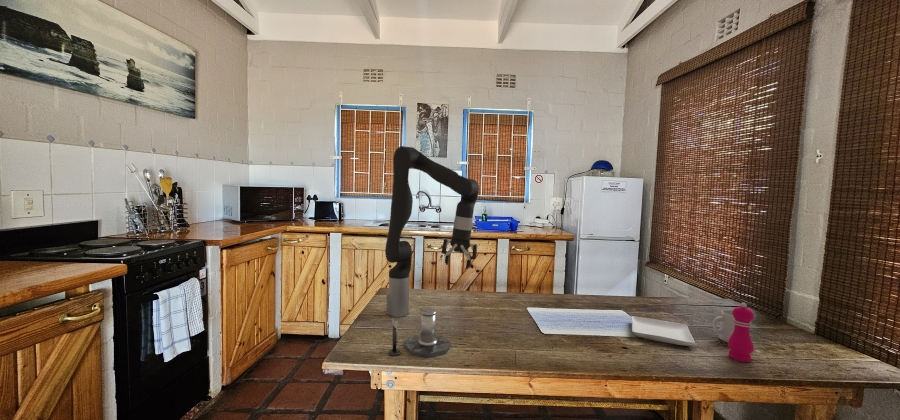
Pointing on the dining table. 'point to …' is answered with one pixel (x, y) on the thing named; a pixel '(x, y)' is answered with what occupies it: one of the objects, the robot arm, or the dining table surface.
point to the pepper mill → (741, 334)
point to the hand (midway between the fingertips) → (457, 266)
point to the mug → (724, 325)
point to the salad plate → (662, 331)
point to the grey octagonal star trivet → (428, 352)
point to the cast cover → (427, 327)
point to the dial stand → (395, 339)
